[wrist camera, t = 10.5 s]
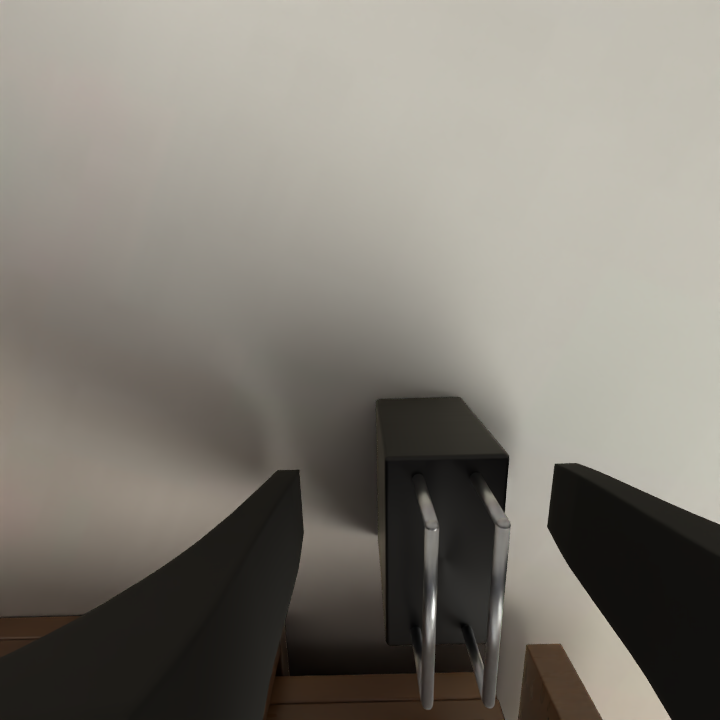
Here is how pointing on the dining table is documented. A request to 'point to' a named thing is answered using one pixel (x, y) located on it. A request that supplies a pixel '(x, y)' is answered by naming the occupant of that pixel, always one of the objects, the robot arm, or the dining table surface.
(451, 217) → the dining table surface
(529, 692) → the drawer
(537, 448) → the dining table surface
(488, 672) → the binder clip
